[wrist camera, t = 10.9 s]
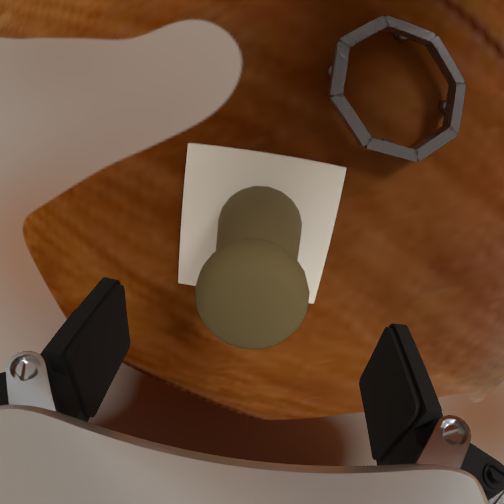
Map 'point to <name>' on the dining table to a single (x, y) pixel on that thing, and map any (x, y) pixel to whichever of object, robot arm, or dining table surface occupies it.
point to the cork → (254, 271)
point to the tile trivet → (247, 175)
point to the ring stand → (448, 107)
